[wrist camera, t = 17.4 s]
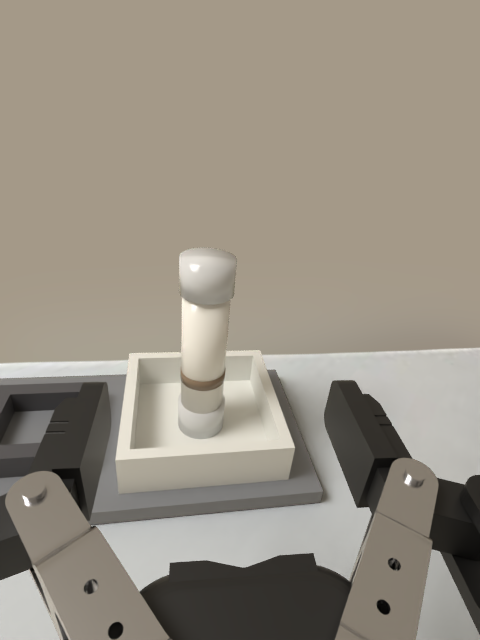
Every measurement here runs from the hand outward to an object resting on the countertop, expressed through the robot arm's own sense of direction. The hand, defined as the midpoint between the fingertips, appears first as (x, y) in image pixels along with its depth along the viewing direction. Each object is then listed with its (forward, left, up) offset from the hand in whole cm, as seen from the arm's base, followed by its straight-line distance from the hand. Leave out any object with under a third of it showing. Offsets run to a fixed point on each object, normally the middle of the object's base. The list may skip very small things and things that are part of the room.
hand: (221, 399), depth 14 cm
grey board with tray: (+10, -9, -15) cm, 20 cm away
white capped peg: (+5, -11, -13) cm, 18 cm away
